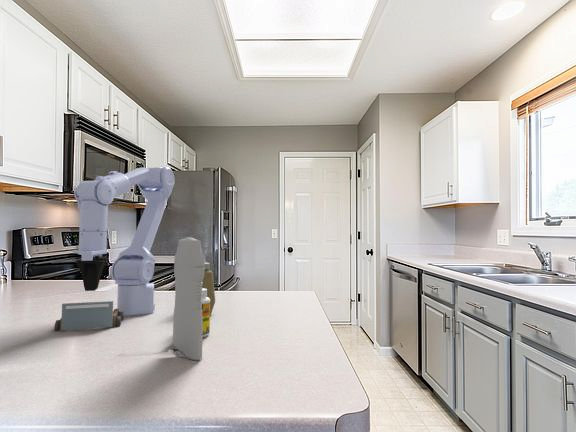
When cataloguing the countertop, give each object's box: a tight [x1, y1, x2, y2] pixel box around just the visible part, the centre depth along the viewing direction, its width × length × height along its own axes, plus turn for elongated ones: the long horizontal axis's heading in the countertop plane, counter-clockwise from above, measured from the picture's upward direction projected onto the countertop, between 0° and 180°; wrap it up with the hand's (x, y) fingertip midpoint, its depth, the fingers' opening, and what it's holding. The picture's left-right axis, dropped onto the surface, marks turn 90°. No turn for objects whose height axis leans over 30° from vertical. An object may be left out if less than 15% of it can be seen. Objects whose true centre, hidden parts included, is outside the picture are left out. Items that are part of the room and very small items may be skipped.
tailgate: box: [60, 300, 114, 331], centre depth 80 cm, size 10×1×6 cm, turn 110°
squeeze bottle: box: [201, 249, 216, 315], centre depth 102 cm, size 8×8×18 cm
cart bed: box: [53, 308, 124, 332], centre depth 85 cm, size 13×8×4 cm, turn 110°
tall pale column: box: [172, 236, 206, 362], centre depth 69 cm, size 11×4×22 cm, turn 44°
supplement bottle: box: [202, 288, 211, 339], centre depth 81 cm, size 6×6×10 cm
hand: (91, 289), depth 84 cm, fingers closed
